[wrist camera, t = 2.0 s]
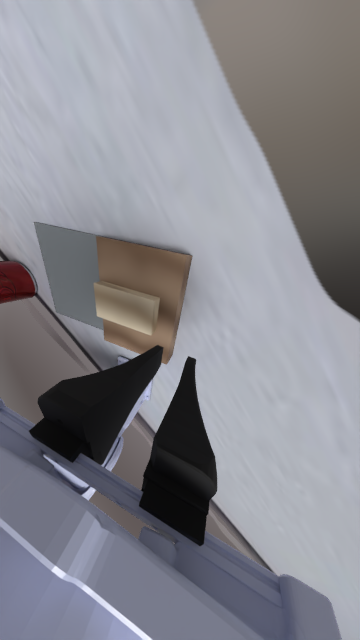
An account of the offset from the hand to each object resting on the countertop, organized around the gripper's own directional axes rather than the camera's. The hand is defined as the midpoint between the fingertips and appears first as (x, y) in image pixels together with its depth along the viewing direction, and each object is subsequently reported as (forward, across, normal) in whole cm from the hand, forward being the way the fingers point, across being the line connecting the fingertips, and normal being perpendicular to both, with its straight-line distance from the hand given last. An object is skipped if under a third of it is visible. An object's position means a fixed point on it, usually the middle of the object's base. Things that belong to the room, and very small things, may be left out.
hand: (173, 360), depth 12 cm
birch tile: (+7, +10, 0) cm, 12 cm away
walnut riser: (+9, +8, 0) cm, 13 cm away
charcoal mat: (+9, +22, 0) cm, 24 cm away
